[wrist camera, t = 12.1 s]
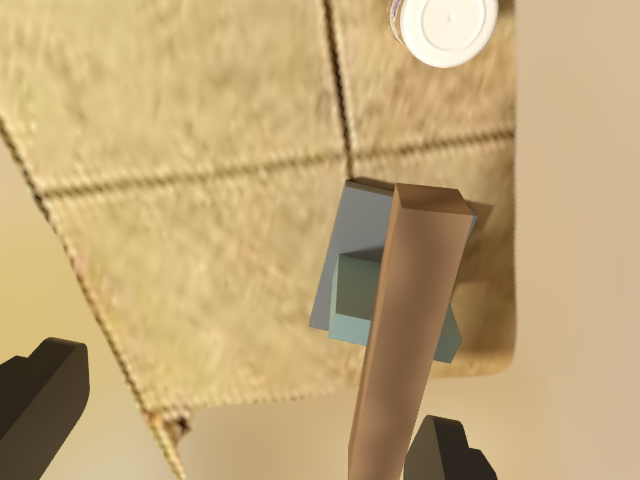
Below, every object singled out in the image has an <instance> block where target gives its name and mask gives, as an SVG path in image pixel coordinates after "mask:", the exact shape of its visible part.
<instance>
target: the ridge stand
mask: <svg viewBox="0 0 640 480" xmlns="http://www.w3.org/2000/svg"><path fill="white" fill-rule="evenodd" d="M393 195H394V191H390V190H386V189H382V188H377V187H373V186H368V185H364V184H359V183H355V182H351V181H345V185H344V189H343V192H342V196H341V200H340V204H339V208H338V212H337V216H336V220H335V224H334V227H333V231H332V235H331V239H330V243H329V247H328V251H327V255H326V259H325V263H324V266H323V270H322V274H321V278H320V282H319V286H318V290H317V294H316V298H315V301H314V305H313V309H312V313H311V317H310V324H309V327H312V328H317V329H322V330H327V331H329V336H328V338H331V339H336V340H341V341H345V342H350V343H355V344H360V345H364V346H366V345H367V340H368V334H369V329H370V323H371V318H372V312H373V306H374V301H375V295H376V290H377V284H378V279H379V273H380V267H381V262H382V256H383V251H384V245H385V239H386V234H387V228H388V223H389V217H390V212H391V206H392V200H393ZM469 209H470V208H469ZM470 211H471V213H472V214H473V218H472V222H471V226H470V229H469V233H468V236H467V240H466V243H467V241H468V239H469V236H470V234H471V232H472V229H473V227H474V225H475V222H476V220H477V218H478V215H477V214H476V212H475V210H474V209H470ZM466 243H465V246H466ZM464 248H465V247H464ZM461 341H462V339H461V336H460V333H459V330H458V327H457V324H456V321H455V317H454V314H453V311H452V308H451V305H450V302H449V304H448V308H447V311H446V315H445V318H444V322H443V326H442V329H441V333H440V336H439V340H438V343H437V347H436V351H435V354H434V358H433V360H436V361H440V362H445V363H450V364H451V362H452V360H453V358H454V356H455V354H456V351H457V349H458V347H459V345H460V343H461Z"/></svg>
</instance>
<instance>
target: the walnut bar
mask: <svg viewBox="0 0 640 480" xmlns="http://www.w3.org/2000/svg"><path fill="white" fill-rule="evenodd" d="M472 218H473V214H472V213H471V211H470V209H469V207H468V206H467V204H466V202H465V200H464V199H463V197H462V195H461V194H460V192H459V190H458V189H450V188H441V187H431V186H422V185H412V184H403V183H396V184H395V189H394V195H393V200H392V206H391V212H390V217H389V223H388V228H387V234H386V239H385V245H384V251H383V256H382V262H381V267H380V273H379V279H378V284H377V290H376V295H375V301H374V306H373V312H372V318H371V323H370V329H369V334H368V340H367V345H366V351H365V357H364V362H363V368H362V373H361V379H360V384H359V390H358V396H357V401H356V407H355V412H354V418H353V423H352V429H351V435H350V440H349V446H348V480H399V479H400V475H401V472H402V468H403V465H404V461H405V458H406V454H407V450H408V447H409V443H410V440H411V436H412V432H413V429H414V425H415V422H416V418H417V415H418V411H419V408H420V404H421V400H422V397H423V393H424V390H425V386H426V383H427V379H428V376H429V372H430V368H431V365H432V361H433V358H434V354H435V351H436V347H437V343H438V340H439V336H440V333H441V329H442V326H443V322H444V318H445V315H446V311H447V308H448V304H449V301H450V297H451V293H452V290H453V286H454V283H455V279H456V276H457V272H458V268H459V265H460V261H461V258H462V254H463V251H464V247H465V243H466V240H467V236H468V233H469V229H470V226H471V222H472Z"/></svg>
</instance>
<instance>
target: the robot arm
mask: <svg viewBox="0 0 640 480" xmlns="http://www.w3.org/2000/svg"><path fill="white" fill-rule="evenodd" d="M89 391H90V385H89V369H88V351H87V346H86V345H85V344H83V343H79V342H74V341H69V340H64V339H59V338H54V337H49V338H47V339H45V340H44V341H43V342H42V343H41V344H40V345H39V346H38V347H37V348H36V349H35V350H34V351H33V353H32V354H31V355H30V356H29V357H28V358H26V357H21V356H15V357H13V358H11V359H10V360H8V361H6V362H5V363H3V364H1V365H0V480H39V479H40V478H41V476H42V475H43V473H44V472H45V470H46V469H47V467H48V466H49V464H50V462H51V461H52V459H53V458H54V456H55V455H56V453H57V452H58V450H59V449H60V447H61V446H62V444H63V443H64V441H65V440H66V438H67V437H68V435H69V433H70V432H71V430H72V429H73V428H74V426H75V425H76V423H77V421H78V420H79V418H80V417H81V415H82V413H83V411H84V409H85V407H86V404H87V401H88V397H89ZM403 474H404V475H403V476H404V477H403V479H404V480H498V479H497V476H496V473H495V471H494V470H493V468H492V467H491V465H490V464H489V462H488V461H487V459H486V458H485V456H484V455H483V453H482V452H481V450H478V449H473V448H469V446H468V442H467V439H466V435H465V431H464V428H463V425H462V424H461V422H459V421H457V420H451V419H447V418H442V417H437V416H432V415H427V416H426V417H425V418H424V420H423V422H422V424H421V426H420V428H419V430H418V432H417V434H416V436H415V438H414V440H413V442H412V444H411V447H410V449H409V451H408V453H407V455H406V458H405V463H404V473H403Z"/></svg>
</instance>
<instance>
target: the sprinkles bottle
mask: <svg viewBox="0 0 640 480" xmlns="http://www.w3.org/2000/svg"><path fill="white" fill-rule="evenodd" d="M498 12H499V6H498V0H389V2H388V5H387V9H386V22H387V26H388V29H389V31H390V33H391V34H392V36H393V37H394V38H395V39H396V40H397V41H398V42H400V43H402V44H403V45H404V46H406V47H407V48H408V49H409V51H410V52H411V53H412V54H413V55H414V56H415V57H416V58H418V59H419V60H421V61H422V62H424V63H426V64H428V65H431V66H433V67H439V68H449V67H455V66H458V65H461V64H464V63H466V62H467V61H469V60H471V59H472V58H474V57H475V56H476V55H477V54H479V53H480V52H481V51H482V50H483V48H484V47H485V46H486V45H487V43H488V42H489V40H490V38H491V37H492V35H493V32H494V30H495V27H496V24H497V19H498Z"/></svg>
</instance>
